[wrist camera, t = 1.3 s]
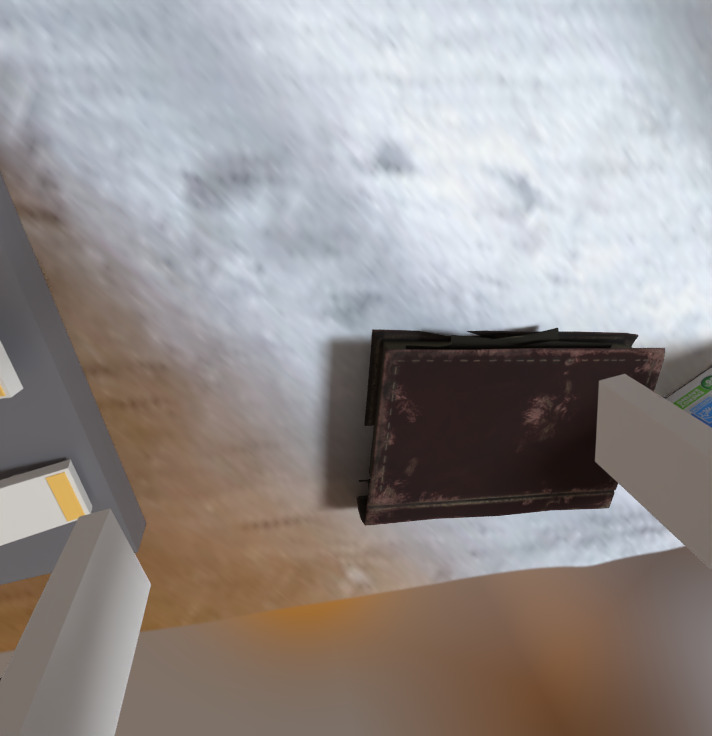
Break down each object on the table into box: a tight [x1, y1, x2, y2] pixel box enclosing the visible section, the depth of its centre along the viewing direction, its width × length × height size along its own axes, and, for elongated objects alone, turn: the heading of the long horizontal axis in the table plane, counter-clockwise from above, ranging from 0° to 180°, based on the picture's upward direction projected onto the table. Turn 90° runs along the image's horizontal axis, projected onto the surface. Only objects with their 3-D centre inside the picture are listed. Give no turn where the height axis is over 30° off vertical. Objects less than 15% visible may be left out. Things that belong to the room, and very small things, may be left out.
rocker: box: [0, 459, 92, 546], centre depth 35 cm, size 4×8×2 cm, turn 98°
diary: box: [357, 328, 665, 525], centre depth 44 cm, size 19×25×5 cm
